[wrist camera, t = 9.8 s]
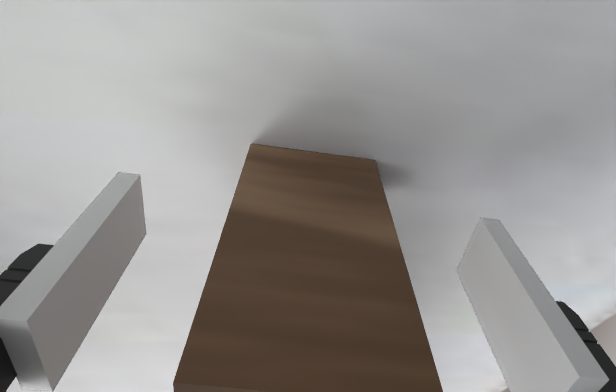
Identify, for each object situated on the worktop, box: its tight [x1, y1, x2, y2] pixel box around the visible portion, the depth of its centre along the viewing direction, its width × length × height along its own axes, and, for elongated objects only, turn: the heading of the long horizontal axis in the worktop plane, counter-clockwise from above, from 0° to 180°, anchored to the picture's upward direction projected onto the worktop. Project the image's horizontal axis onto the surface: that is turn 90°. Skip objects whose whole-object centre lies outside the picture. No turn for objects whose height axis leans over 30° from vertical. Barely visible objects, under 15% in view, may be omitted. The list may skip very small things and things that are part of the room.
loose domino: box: [173, 144, 443, 392], centre depth 14 cm, size 2×6×12 cm, turn 82°
